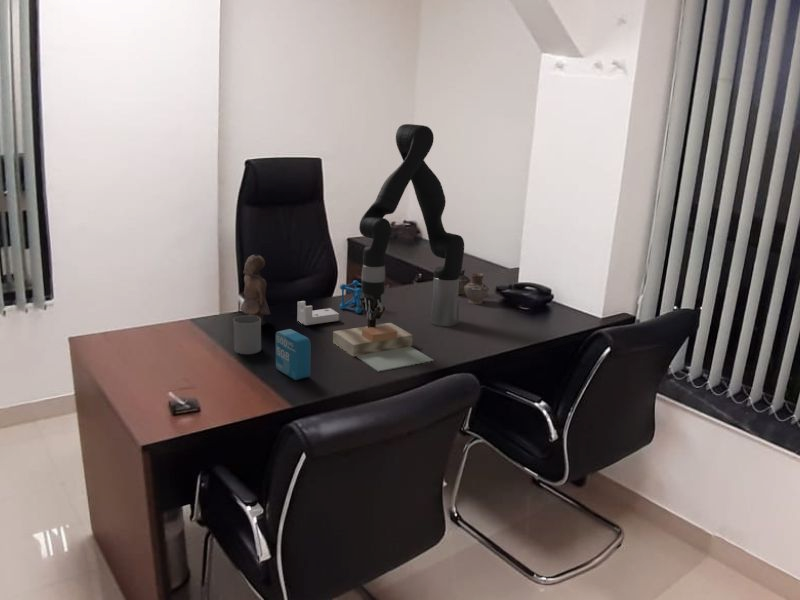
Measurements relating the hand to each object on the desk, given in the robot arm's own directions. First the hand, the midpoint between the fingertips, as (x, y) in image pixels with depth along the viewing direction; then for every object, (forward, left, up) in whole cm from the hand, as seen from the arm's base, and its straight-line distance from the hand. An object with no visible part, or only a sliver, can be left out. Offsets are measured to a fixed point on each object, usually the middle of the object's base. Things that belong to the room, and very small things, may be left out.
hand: (371, 329), depth 225 cm
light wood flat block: (0, +1, -5) cm, 5 cm away
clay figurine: (+27, -34, -5) cm, 44 cm away
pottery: (-63, -32, -5) cm, 71 cm away
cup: (+38, -12, -5) cm, 40 cm away
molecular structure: (-14, -36, -5) cm, 39 cm away
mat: (0, +15, -5) cm, 16 cm away
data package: (+33, +12, -5) cm, 35 cm away
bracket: (+6, -28, -6) cm, 29 cm away
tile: (0, +5, 0) cm, 5 cm away
